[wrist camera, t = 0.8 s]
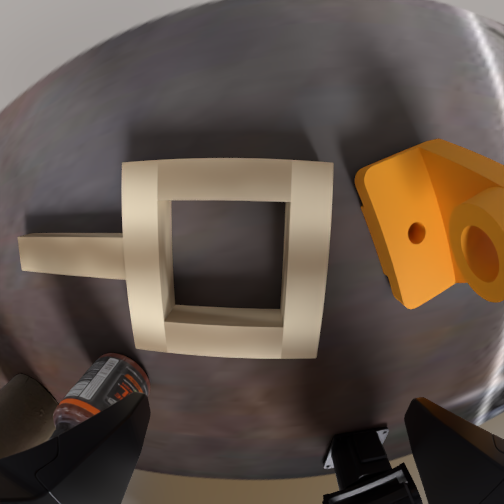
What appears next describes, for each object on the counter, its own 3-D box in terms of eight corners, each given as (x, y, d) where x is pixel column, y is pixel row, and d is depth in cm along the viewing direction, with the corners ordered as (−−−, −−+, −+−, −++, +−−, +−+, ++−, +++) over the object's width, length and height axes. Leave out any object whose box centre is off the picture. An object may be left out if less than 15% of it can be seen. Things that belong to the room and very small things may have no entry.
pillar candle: (41, 374, 24) (-30, 448, 9) (79, 433, 26) (31, 510, 11) (4, 371, 24) (-56, 427, 10) (38, 424, 26) (-8, 484, 12)
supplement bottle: (163, 395, 23) (125, 489, 12) (117, 401, 24) (72, 479, 13) (132, 344, 22) (69, 433, 11) (86, 354, 23) (23, 427, 12)
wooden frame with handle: (309, 337, 22) (316, 357, 19) (44, 313, 22) (26, 325, 19) (322, 166, 19) (333, 162, 16) (29, 179, 19) (8, 179, 16)
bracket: (346, 173, 19) (450, 161, 7) (420, 142, 18) (535, 121, 6) (391, 300, 21) (478, 384, 9) (455, 262, 20) (554, 311, 8)
